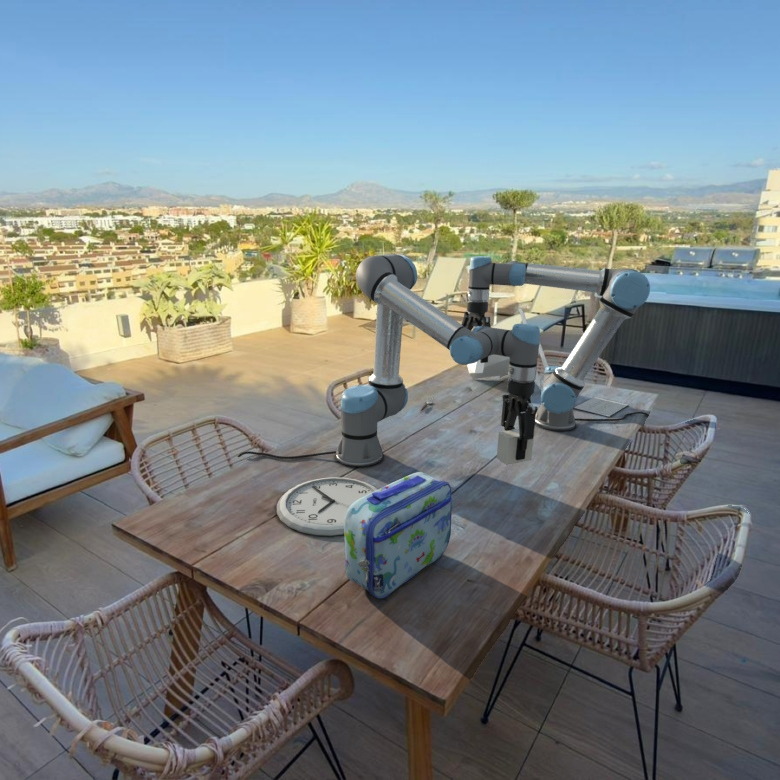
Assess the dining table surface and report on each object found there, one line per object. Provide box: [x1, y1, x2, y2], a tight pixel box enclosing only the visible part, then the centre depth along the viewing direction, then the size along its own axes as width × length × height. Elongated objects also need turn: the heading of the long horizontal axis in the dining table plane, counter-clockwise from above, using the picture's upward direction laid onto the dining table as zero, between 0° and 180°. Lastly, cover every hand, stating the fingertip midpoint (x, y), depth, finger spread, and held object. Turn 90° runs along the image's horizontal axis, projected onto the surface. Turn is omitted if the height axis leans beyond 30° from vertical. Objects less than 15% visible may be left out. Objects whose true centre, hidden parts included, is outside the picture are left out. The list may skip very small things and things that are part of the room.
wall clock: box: [276, 476, 379, 537], centre depth 142 cm, size 30×2×30 cm
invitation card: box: [573, 396, 629, 418], centre depth 226 cm, size 21×1×15 cm
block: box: [496, 428, 535, 466], centre depth 153 cm, size 5×9×8 cm, turn 113°
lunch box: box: [343, 471, 453, 599], centre depth 113 cm, size 26×11×21 cm, turn 134°
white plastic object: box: [466, 307, 550, 392], centre depth 256 cm, size 37×45×31 cm
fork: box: [420, 396, 435, 411], centre depth 223 cm, size 3×16×2 cm, turn 160°
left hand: (514, 455), depth 154 cm, fingers closed on block, 5 cm apart
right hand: (474, 358), depth 194 cm, fingers open, 13 cm apart
